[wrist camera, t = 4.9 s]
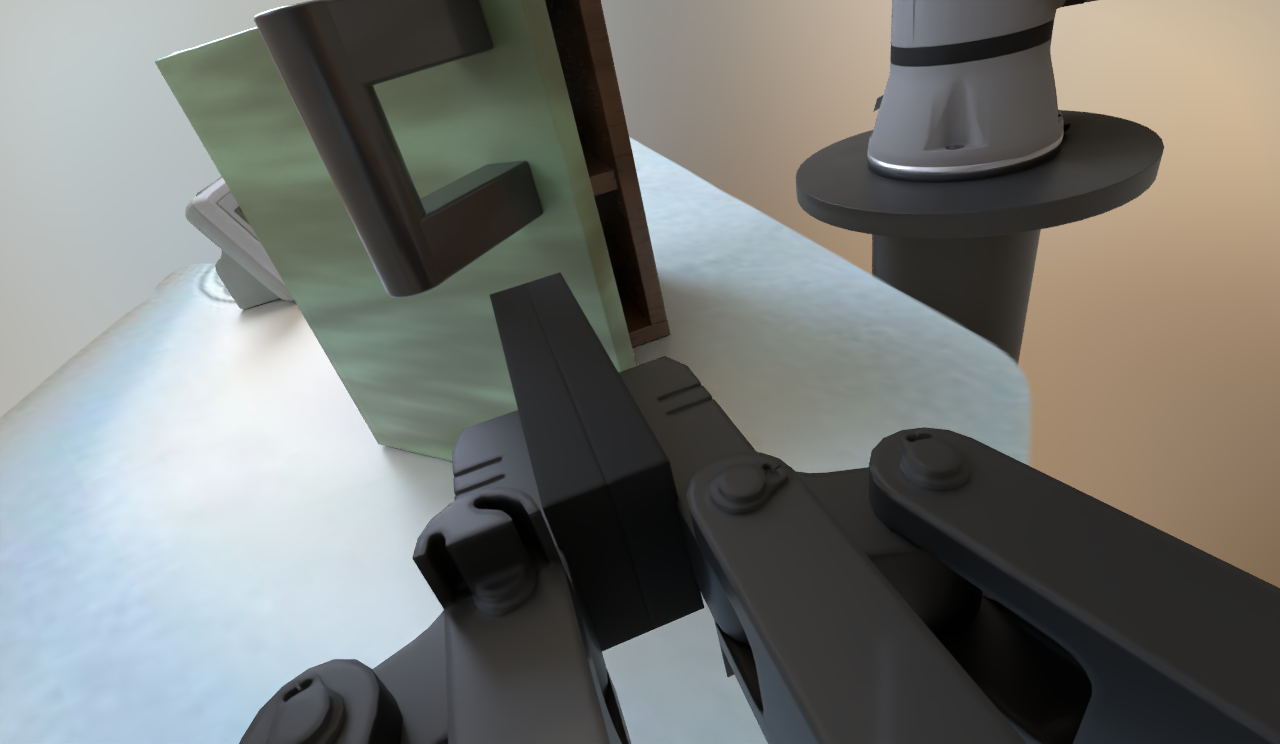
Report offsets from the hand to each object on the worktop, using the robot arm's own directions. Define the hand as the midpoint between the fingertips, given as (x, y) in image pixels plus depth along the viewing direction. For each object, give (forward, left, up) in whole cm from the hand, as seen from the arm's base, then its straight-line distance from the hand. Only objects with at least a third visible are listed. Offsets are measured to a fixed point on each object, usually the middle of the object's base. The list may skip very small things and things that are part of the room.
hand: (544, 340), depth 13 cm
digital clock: (+21, -53, -12) cm, 59 cm away
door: (+5, -10, -11) cm, 16 cm away
